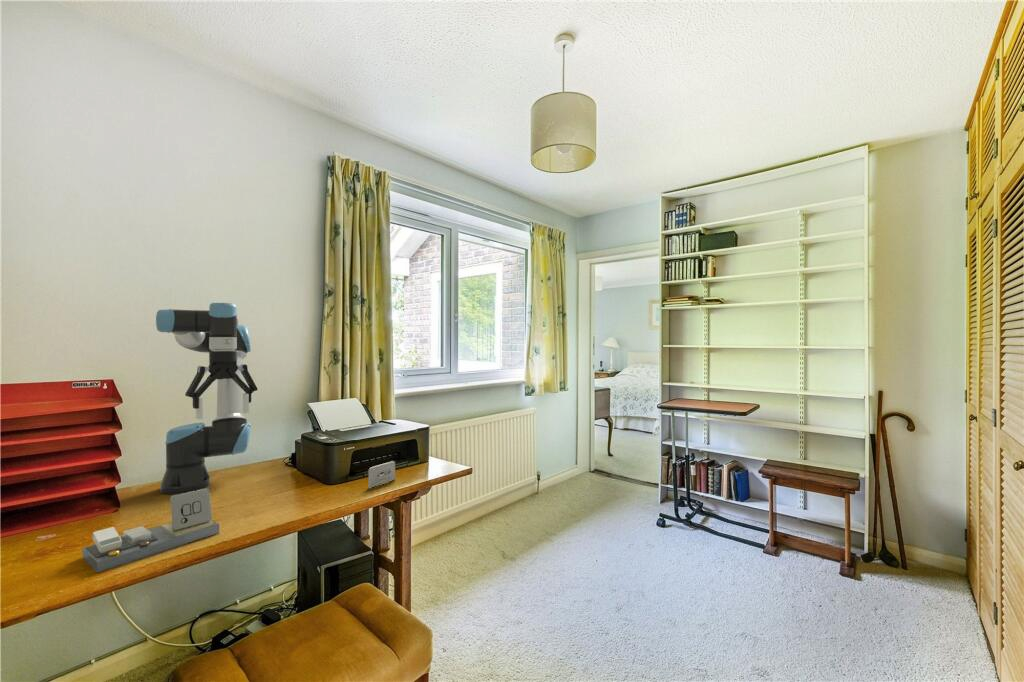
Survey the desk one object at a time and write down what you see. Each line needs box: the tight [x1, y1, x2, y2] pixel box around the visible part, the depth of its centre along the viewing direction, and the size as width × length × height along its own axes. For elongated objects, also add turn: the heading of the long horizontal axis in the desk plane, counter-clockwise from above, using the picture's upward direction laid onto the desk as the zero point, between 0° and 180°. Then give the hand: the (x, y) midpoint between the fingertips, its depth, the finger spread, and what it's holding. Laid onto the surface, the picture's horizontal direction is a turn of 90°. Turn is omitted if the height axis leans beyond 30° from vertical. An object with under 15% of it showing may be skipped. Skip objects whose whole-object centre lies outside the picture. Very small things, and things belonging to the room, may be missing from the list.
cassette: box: [368, 460, 396, 489], centre depth 168 cm, size 12×2×8 cm, turn 145°
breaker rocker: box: [92, 526, 122, 553], centre depth 111 cm, size 7×4×2 cm, turn 56°
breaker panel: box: [81, 518, 220, 574], centre depth 119 cm, size 13×26×4 cm, turn 146°
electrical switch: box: [169, 487, 213, 530], centre depth 126 cm, size 9×5×9 cm, turn 140°
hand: (223, 415), depth 143 cm, fingers open, 13 cm apart
